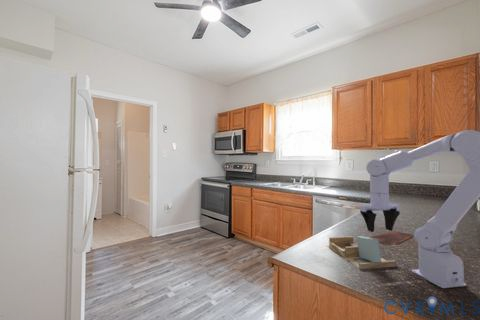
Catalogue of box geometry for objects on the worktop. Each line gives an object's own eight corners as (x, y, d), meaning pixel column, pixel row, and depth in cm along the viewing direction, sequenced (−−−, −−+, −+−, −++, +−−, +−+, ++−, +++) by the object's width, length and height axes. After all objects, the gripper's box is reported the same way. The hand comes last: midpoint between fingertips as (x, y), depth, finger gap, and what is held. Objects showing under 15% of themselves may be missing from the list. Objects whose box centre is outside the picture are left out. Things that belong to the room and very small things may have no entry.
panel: (381, 261, 70) (377, 239, 72) (376, 262, 70) (372, 239, 72) (364, 256, 78) (361, 236, 80) (359, 257, 78) (356, 236, 79)
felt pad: (387, 265, 72) (387, 264, 72) (365, 267, 71) (365, 266, 71) (373, 257, 78) (373, 256, 78) (353, 259, 77) (353, 258, 77)
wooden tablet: (393, 228, 110) (417, 231, 102) (394, 233, 110) (418, 236, 101) (363, 238, 97) (387, 242, 88) (364, 243, 97) (388, 248, 88)
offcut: (360, 249, 85) (360, 245, 85) (353, 250, 85) (353, 246, 85) (354, 246, 88) (354, 242, 88) (347, 246, 88) (347, 242, 88)
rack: (396, 267, 71) (396, 255, 71) (360, 271, 69) (360, 258, 69) (355, 245, 91) (355, 235, 91) (326, 247, 89) (326, 237, 89)
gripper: (387, 190, 84) (387, 226, 84) (353, 192, 82) (354, 228, 81) (404, 193, 77) (404, 231, 77) (368, 194, 75) (368, 234, 74)
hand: (379, 230), depth 79 cm, fingers open, 7 cm apart
